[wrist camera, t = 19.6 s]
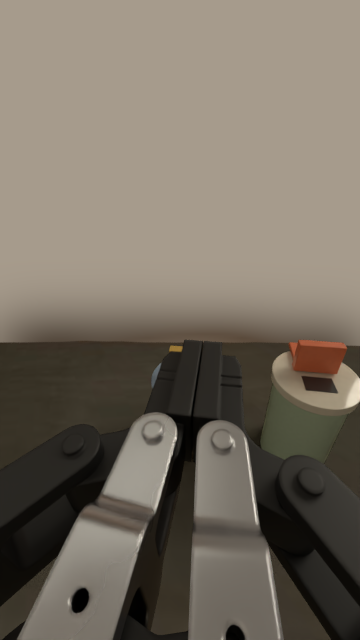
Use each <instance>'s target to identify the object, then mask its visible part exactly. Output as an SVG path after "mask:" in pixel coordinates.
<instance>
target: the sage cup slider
mask: <svg viewBox="0 0 360 640" xmlns="http://www.w3.org/2000/svg"><path fill="white" fill-rule="evenodd" d="M289 348H290V351H291V355H292V358H293V363H292V366H293V370H294V371H305V372H316V373H327V374H337V373H338V370H339V368H340V365H341V363H342V360H343V358H344V355H345V353H346V350H347V348H346V346H345V345H344V343H338V342H323V341H309V340H298V343H289Z"/></svg>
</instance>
